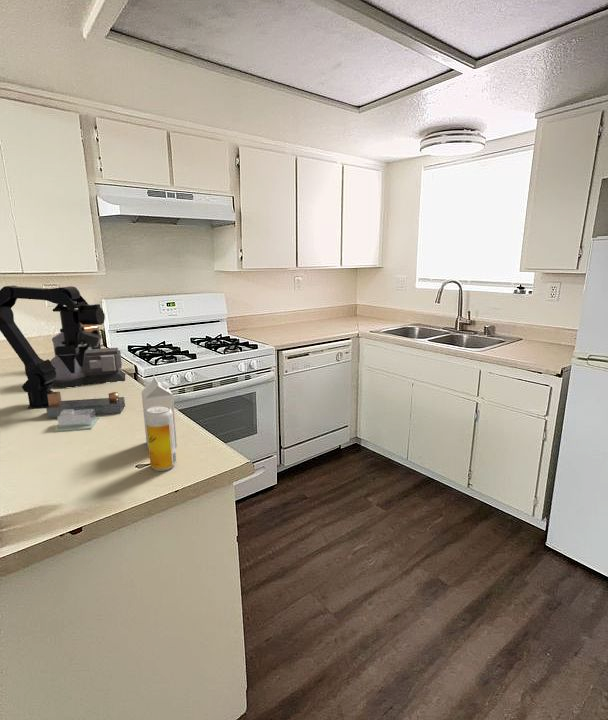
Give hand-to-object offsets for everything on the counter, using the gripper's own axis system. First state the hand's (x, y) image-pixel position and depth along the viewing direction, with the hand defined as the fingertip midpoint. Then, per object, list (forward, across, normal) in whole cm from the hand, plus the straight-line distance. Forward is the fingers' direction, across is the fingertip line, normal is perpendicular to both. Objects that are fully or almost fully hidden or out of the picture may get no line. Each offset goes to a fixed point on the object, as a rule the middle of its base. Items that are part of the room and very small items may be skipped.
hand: (77, 369), depth 142 cm
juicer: (+13, +32, +7) cm, 35 cm away
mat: (+13, -19, -4) cm, 23 cm away
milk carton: (+13, -39, -31) cm, 51 cm away
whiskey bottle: (+13, +55, +12) cm, 58 cm away
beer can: (+13, -52, -33) cm, 63 cm away
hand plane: (+13, -8, -4) cm, 16 cm away
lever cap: (+12, -19, -4) cm, 23 cm away
